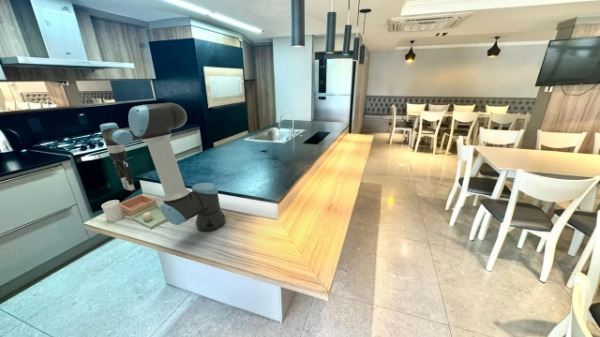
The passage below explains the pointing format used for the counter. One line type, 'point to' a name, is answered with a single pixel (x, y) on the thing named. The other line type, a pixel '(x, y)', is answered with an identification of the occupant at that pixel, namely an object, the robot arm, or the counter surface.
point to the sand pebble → (147, 216)
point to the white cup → (112, 210)
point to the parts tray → (156, 219)
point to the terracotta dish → (137, 204)
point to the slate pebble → (125, 186)
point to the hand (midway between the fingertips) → (129, 188)
